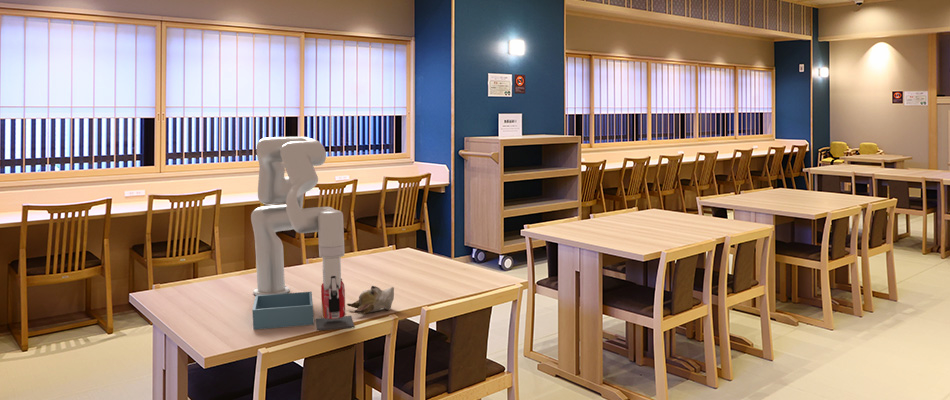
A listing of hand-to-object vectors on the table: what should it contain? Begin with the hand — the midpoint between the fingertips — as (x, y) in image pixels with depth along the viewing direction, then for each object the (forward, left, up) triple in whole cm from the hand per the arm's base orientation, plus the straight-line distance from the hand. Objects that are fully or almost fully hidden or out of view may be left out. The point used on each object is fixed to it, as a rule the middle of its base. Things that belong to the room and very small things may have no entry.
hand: (333, 307), depth 210 cm
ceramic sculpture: (-11, +13, -5) cm, 18 cm away
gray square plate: (0, 0, -5) cm, 5 cm away
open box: (-10, -15, -5) cm, 19 cm away
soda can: (0, 0, -3) cm, 3 cm away
